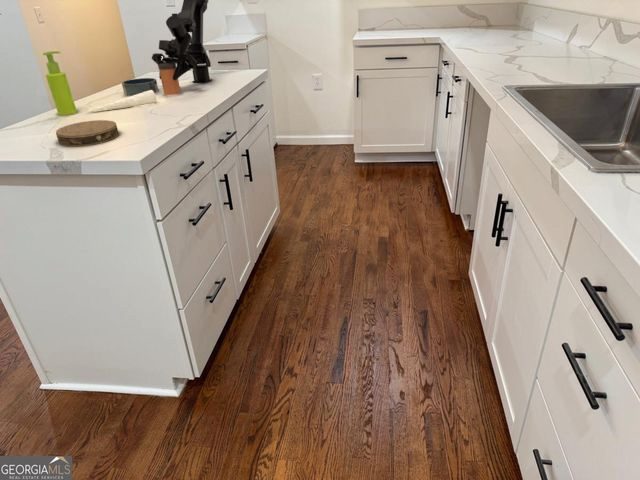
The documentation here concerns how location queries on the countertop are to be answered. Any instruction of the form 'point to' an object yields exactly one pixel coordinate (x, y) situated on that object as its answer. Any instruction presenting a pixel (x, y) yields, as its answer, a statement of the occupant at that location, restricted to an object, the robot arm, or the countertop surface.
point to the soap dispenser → (59, 87)
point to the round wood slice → (87, 133)
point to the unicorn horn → (129, 102)
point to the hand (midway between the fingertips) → (167, 79)
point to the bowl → (139, 86)
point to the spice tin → (169, 78)
